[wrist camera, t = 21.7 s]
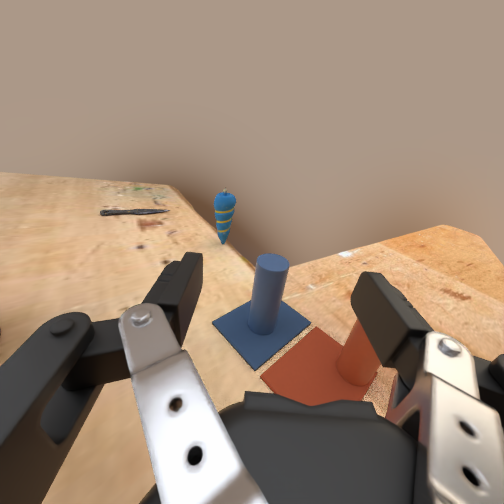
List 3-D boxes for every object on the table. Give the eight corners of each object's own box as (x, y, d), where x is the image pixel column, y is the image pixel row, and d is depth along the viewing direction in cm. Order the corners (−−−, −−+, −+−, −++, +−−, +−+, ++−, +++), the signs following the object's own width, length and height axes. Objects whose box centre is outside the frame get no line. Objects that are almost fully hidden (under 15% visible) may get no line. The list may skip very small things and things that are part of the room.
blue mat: (212, 323, 35) (212, 321, 34) (268, 291, 43) (268, 290, 42) (254, 371, 29) (255, 369, 28) (310, 324, 37) (311, 322, 36)
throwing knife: (101, 211, 67) (101, 209, 67) (170, 209, 75) (170, 207, 74) (99, 216, 64) (98, 214, 63) (171, 213, 71) (171, 211, 71)
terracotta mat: (260, 377, 28) (260, 375, 28) (315, 327, 36) (316, 326, 36) (328, 454, 22) (329, 452, 22) (376, 374, 30) (377, 372, 30)
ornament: (233, 240, 60) (237, 185, 52) (231, 249, 55) (236, 191, 48) (214, 238, 60) (216, 183, 52) (211, 247, 55) (212, 188, 48)
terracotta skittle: (330, 367, 30) (361, 302, 24) (345, 349, 32) (376, 287, 26) (361, 393, 27) (405, 328, 21) (374, 372, 30) (417, 308, 24)
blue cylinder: (242, 321, 35) (250, 259, 29) (261, 309, 38) (272, 250, 32) (261, 340, 32) (274, 275, 26) (280, 326, 35) (296, 264, 29)
